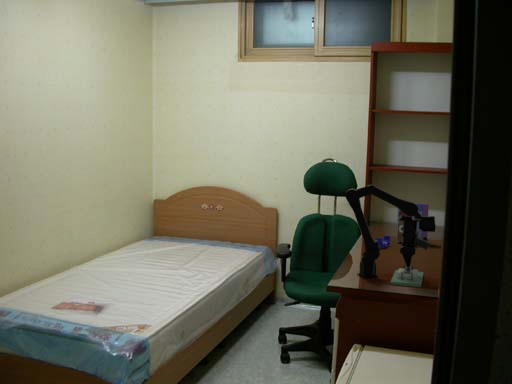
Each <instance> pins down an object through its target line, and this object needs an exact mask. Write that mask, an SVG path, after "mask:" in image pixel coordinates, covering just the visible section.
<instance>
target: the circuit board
mask: <svg viewBox="0 0 512 384" xmlns="http://www.w3.org/2000/svg"><path fill="white" fill-rule="evenodd" d="M398 270H399V269H395V270H394V273H393V275H392V277H391V280H390V285H392V286H394V285H395V286H403V287H415V288H421V287H422V285H423V284H422V283H423V279H424V272H423V271H418V277H417V280H411V279H401V278H397V272H398Z"/></svg>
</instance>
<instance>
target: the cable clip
mask: <svg viewBox="0 0 512 384" xmlns="http://www.w3.org/2000/svg"><path fill="white" fill-rule="evenodd" d="M375 240H377V241H378V245H379V247H380V248H384V249H386V248H385V247H389V246H388V245H390V246H391V235H383V238H382V237H376V238H375Z"/></svg>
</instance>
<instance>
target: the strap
mask: <svg viewBox="0 0 512 384" xmlns="http://www.w3.org/2000/svg"><path fill="white" fill-rule="evenodd" d="M411 269H412V265H410V267H407V266H406V269H405V271H403V273H406V274H410V273H411V271H410V270H411Z"/></svg>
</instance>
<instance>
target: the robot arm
mask: <svg viewBox="0 0 512 384" xmlns="http://www.w3.org/2000/svg"><path fill="white" fill-rule="evenodd" d="M370 195H372V196H374V197H376V198H378V199H380V200H382V201H384V202H386V203H388V204H390V205H392V206H394V207H395V208H396V209H397V210H398V209H400V210H401V211H402V212H404V213H405V214H406V215H408V216H414V217H415V218H417V219H412V217H405V216H404V215H402V216H401V217H400V218H399V220H400V221H403V234H402V236H403V241H402V243H401V246H400V248H399V254H401V255H402V257H403V260H404V262H405V265H406V266H407V267H410V266H411V264H412V261H413V260H412V258H413V256H414V255H416V254H417V251H418V250H417V249H418V248H422V249H423V250H425V251H428V249H429V246H430V244H431V241H430V240H429V239H428V236H427V237H423V238H419V237H417V235H418V234H417V221H418V229H420V230H421V232H428V233H436V228H437V227H436V225H437V224H436V217H435V216H434V215H428V216H421V214H419V212H418V207H417V205H416V204H417V203H415V202H413V201H410V200H406V199H403V198H399V197H397V196H396V195H393V194H392V193H388V192H387V191H385V190H384V189H381V188H379V187H377V186H375V185H374V184H368V185H366V186H363V187H360V188H357V189H355V188H350V189H349V188H348V190H347V191H346V193H345V199H346V201H347V203H348V205H349V206H350V208H351V210H352V211H353V213H354V216H355V219H356V221H357V225H358V227H359V229H360V230H359V231H360V233H361V236H362V239H363V242H364V248H365V251H364V252H363V253H362V254H361V258H360V260H361V261H359V273H357V274H356V275H357V276H360V277H363V278H367V279H368V278H375V277H378V274H377V263H376V262H377V261H376V260H378V258H379V257H380V255H381V252H380V251H381V250H382V249H380V247H379V245H378V241H377V240H376V239H374V238H373V236H372V234H371V231H370V229H369V225H368V222H367V220H366V217H365V214H364V212H363V209H362V205H361V199H362V198H364V197H367V196H370Z"/></svg>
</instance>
